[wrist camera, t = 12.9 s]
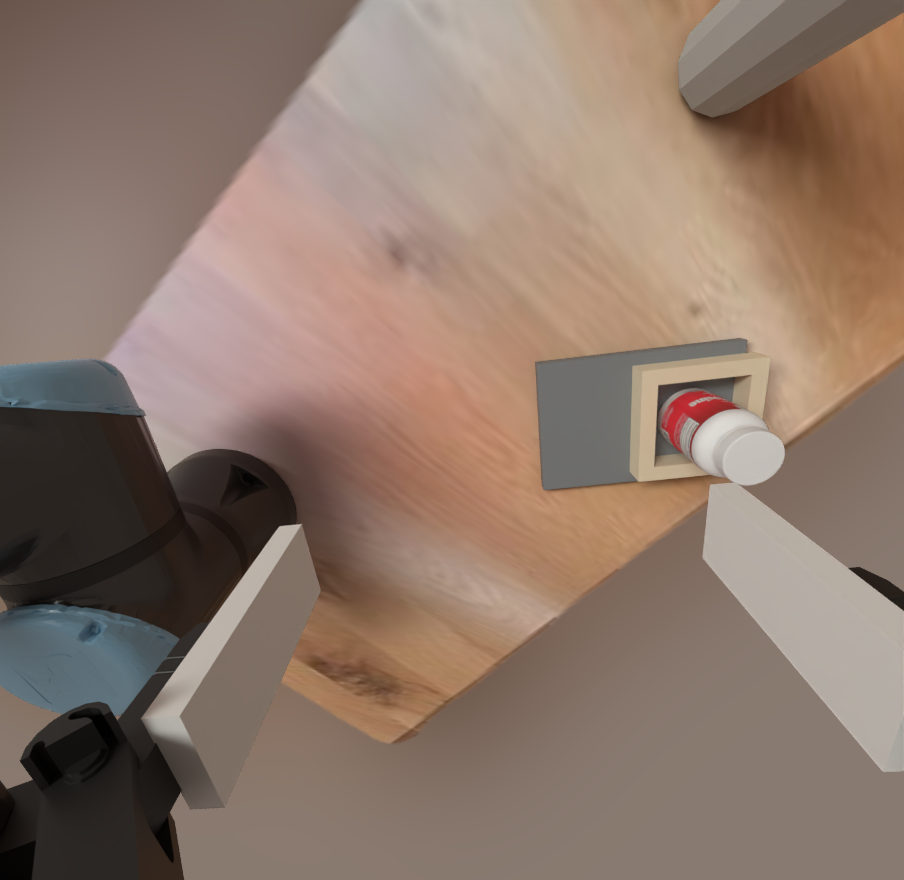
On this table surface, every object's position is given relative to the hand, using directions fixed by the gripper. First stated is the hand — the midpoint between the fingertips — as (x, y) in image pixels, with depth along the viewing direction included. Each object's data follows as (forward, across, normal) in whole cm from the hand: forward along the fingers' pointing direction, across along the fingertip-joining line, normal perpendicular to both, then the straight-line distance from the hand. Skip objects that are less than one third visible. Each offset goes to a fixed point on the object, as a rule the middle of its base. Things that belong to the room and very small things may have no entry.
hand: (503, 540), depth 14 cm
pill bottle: (+31, +21, -8) cm, 38 cm away
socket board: (+32, +16, -8) cm, 36 cm away
